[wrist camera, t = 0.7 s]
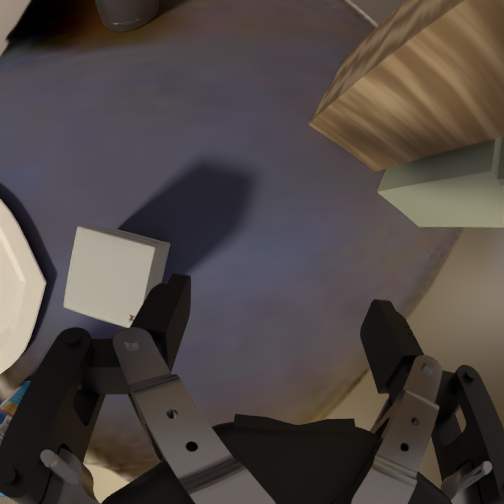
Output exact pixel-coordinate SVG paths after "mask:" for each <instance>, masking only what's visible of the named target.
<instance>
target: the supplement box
mask: <svg viewBox="0 0 504 504" xmlns="http://www.w3.org/2000/svg"><path fill="white" fill-rule="evenodd" d="M169 249H170V243H169V242H164V241H160V240H156V239H152V238H149V237H145V236H141V235H137V234H134V233H130V232H126V231H122V230H119V229H113V228H102V227H84V226H78V227H77V232H76V237H75V242H74V247H73V252H72V257H71V263H70V268H69V273H68V279H67V285H66V291H65V298H64V307H65V308H67V309H70V310H72V311H75V312H78V313H81V314H84V315H87V316H90V317H94V318H96V319H99V320H102V321H106V322H110V323H113V324H116V325H120V326H123V327H126V328H130V326H131V324H132V322H133V320H134V319H135V317H136V315H137V313H138V311H139V309H140V308H141V306H142V305H143V302H144V301H145V299H146V298H147V295H148V294H149V292H150V290H151V289H152V288H153V287H155V286H156V285H158V284H159V283H161V282H162V278H163V274H164V270H165V266H166V261H167V257H168V253H169Z"/></svg>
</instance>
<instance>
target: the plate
mask: <svg viewBox="0 0 504 504" xmlns="http://www.w3.org/2000/svg"><path fill="white" fill-rule="evenodd" d="M46 283H47V282H46V280H45V278H44V276H43V274H42V272H41V270H40V268H39V265H38V263H37V261H36V259H35V257H34V255H33V252H32V250H31V248H30V246H29V243H28V241H27V239H26V237H25V236H24V234H23V232H22V230H21V228H20V226H19V224H18V222H17V221H16V219H15V217H14V216H13V214H12V213H11V211H10V210H9V209H8V207H7V206H6V205H5V204H4V203H3V201H2V200H1V199H0V374H1V373H2V372H4V371H5V370H6V369H8V368H9V367H10V366H11V365H12V364H13V363H14V362H15V361H16V360H17V359H18V358H19V357H20V356H21V354H22V353H23V352H24V351H25V349H26V347H27V344H28V342H29V340H30V338H31V335H32V332H33V329H34V326H35V323H36V319H37V316H38V312H39V308H40V305H41V301H42V298H43V294H44V290H45V286H46Z"/></svg>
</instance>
